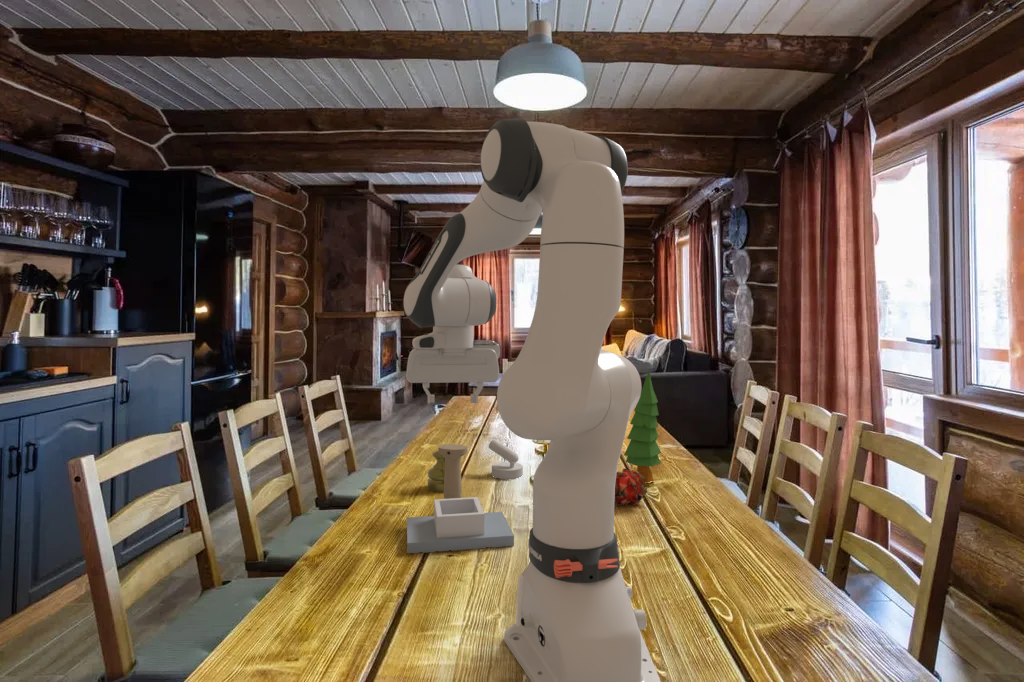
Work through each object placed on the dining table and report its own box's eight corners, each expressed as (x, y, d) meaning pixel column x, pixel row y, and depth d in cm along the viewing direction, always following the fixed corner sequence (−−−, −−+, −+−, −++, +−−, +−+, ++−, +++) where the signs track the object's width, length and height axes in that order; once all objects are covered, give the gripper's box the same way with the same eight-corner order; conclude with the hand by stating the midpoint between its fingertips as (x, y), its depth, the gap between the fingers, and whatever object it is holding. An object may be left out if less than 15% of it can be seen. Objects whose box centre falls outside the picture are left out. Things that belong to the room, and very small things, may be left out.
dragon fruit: (638, 501, 135) (622, 524, 124) (610, 478, 137) (593, 498, 127) (657, 478, 131) (643, 500, 121) (629, 455, 134) (612, 474, 123)
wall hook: (498, 435, 158) (528, 439, 152) (498, 468, 158) (528, 473, 153) (481, 441, 150) (512, 446, 145) (481, 475, 151) (512, 481, 145)
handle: (462, 519, 118) (462, 450, 117) (434, 516, 119) (434, 448, 119) (470, 511, 122) (470, 445, 122) (443, 508, 124) (443, 443, 123)
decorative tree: (663, 486, 142) (665, 371, 141) (627, 486, 142) (629, 371, 141) (654, 475, 152) (656, 368, 150) (620, 475, 152) (622, 367, 150)
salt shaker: (460, 490, 137) (460, 451, 137) (431, 494, 135) (431, 453, 134) (452, 482, 144) (452, 444, 144) (424, 485, 141) (424, 447, 141)
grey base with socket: (514, 545, 104) (514, 514, 104) (407, 553, 100) (407, 521, 100) (501, 520, 117) (502, 493, 117) (406, 527, 113) (406, 498, 113)
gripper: (497, 339, 124) (497, 399, 125) (406, 339, 120) (406, 401, 121) (502, 340, 118) (502, 404, 119) (406, 340, 114) (406, 406, 115)
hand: (452, 402), depth 120 cm, fingers open, 8 cm apart
